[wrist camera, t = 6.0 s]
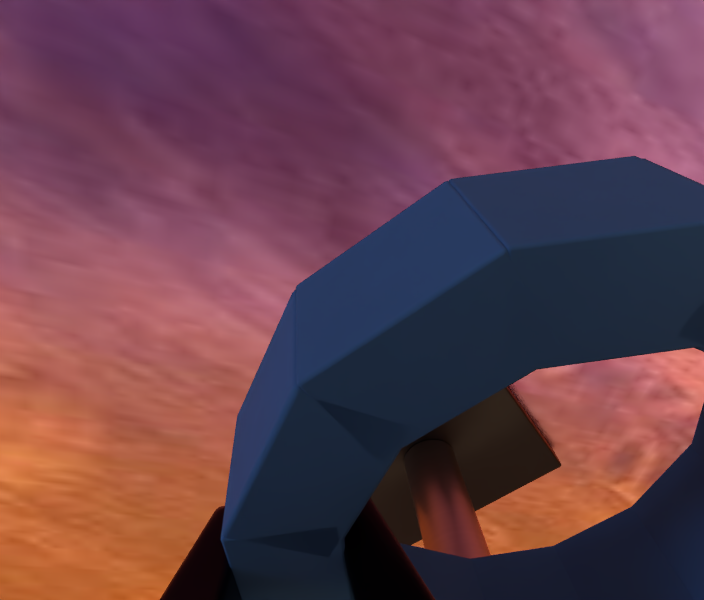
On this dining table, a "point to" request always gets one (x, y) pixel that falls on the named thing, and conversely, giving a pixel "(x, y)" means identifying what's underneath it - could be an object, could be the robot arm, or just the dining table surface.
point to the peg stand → (462, 475)
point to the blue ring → (472, 376)
